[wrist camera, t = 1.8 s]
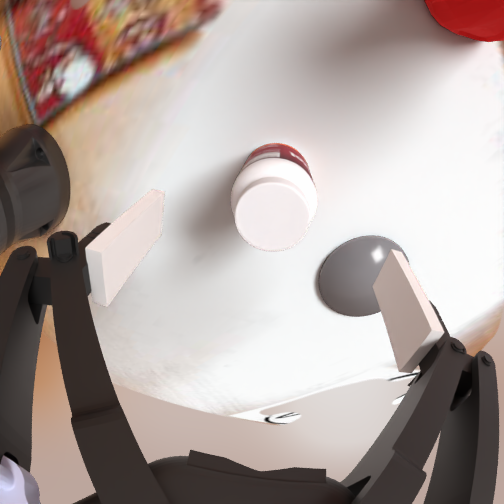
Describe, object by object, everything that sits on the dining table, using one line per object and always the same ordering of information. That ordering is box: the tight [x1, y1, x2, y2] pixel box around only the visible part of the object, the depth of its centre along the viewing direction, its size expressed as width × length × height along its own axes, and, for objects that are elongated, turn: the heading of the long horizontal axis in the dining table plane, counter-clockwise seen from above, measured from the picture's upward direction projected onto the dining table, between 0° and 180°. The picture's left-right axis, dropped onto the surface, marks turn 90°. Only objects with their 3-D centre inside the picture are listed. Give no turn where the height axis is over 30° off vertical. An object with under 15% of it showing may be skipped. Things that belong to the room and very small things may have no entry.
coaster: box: [319, 236, 409, 317], centre depth 32 cm, size 11×11×1 cm
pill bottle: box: [231, 143, 318, 251], centre depth 23 cm, size 6×6×11 cm
